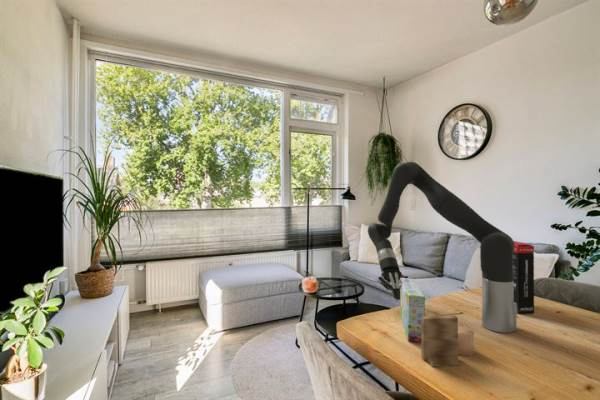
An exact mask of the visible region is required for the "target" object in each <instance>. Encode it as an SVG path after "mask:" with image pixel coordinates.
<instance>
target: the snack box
mask: <svg viewBox="0 0 600 400" xmlns="http://www.w3.org/2000/svg"><path fill="white" fill-rule="evenodd" d="M399 286H400V300H399V302H400V305H399V308H400V309H399V313H400V314H399V316H400V320H401V322H402V325H403V329H404V332H405V335H406V338H407V341H408V342H415V343H421V317H425V311H426V310H425V305H426V301H425V300H426V296H425V295H424V293H423V292H422V290H421V287H419V285H418V283H417V282H416V280H415V278H410V277H408V278H400V280H399Z"/></svg>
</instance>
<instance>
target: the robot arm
mask: <svg viewBox="0 0 600 400" xmlns="http://www.w3.org/2000/svg"><path fill="white" fill-rule="evenodd" d="M408 185H412V186H414V187H415V188H416V189H418V190H419V191H421V192H422V193H423V195H424V196H425V197H426V199H427V200H428V203H429V205H430V206H431V207H432V208H433V210H434V212H435V211H436V213H437V214H439V216H441V217H442V218H444V219H445V220H446V221H448V222H449V223H450V224H452V225H454V226H456V227H458V228H460V229H461V230H463V231H465V232H466V233H468V234H470V235H471V236H472V237H473V238H475V239H476V240H477V241H478V242H479V243H480V248H479V251H480V253H479V254H480V270H481V286H482V287H481V293H482V294H481V301H482V303H481V313H482V314H481V315H482V316H481V322H482V323H481V324H482V326H483V327H484V328H485V329H487V330H489V331H493V332H496V333H501V334H510V333H513V332H514V331H517V315H518V313H517V304H516V302H514V274H513V269H512V253H513V251H514V249H515V244H514V241H515V240H514V239H513V238H512V237H511V236H510V235H509V234H507V233H506V232H504V231H502V230H501V229H499V228H497V227H496V226H494V225H493V224H492V223H489V222H488V221H487V220H485V219H484V218H483V217H482V216H481V215H480V214H478V213H477V212H476V211H475V210H474V209H473V208H471V207H470V206H469V205H468V204H467V203H466V202H464V200H462V199H461V198H459V197H458V196H457V195H456V194H455V193H453V192H451V191H450V190H449V189H448V188H446V187H445V186H444V185H442V184H441V183H440V182H439V181H437V180H436V179H434V178H433V177H432V176H431V175H430V174H429V173H428V172H427V171H426V170H425V169H424V168H423V167H422V166H421V165H420V164H418V163H416V162H414V161H407V162H403V163H399V164H397V165H396V166H395V167H394V169H393V172H392V175H391V178H390V182H389V187H388V190H387V193H386V197H385V198H384V202H383V204H382V206H381V208H380V211H379V213H378V215H377V219H378V221H379V222H380V223H375V222H373V223H371V224H369V225H368V228H367V234H368V236H369V239H370V240H371V242H372V243H373V245H374V247H375V250H376V253H377V259H378V265H379V268H380V272H381V274H380V276H378V278H377V283H379V284H380V285H381V286H383V287H384V288H385V290H387V291H391V292H392V296H393V299H395V301H400V278H409V276H408V275H404V274H402V272H401V270H400V267H399V263H398V259H397V256H396V254H395V251H394V248H393V246H392V245H393V244H392V242H391V240H389V238H390V236H391V235H392V229H393V223H394V220H395V218H396V216H397V214H398V212H399V209H400V202H401V196H402V195H403V192H404V191H405V189H406V188H407V186H408Z"/></svg>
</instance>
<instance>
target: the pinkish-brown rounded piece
mask: <svg viewBox="0 0 600 400" xmlns="http://www.w3.org/2000/svg"><path fill="white" fill-rule="evenodd" d="M474 353H475V333H474V331H473V330H472V329H470V328H468V327H464V326H458V356H459V355H460V356H465V357H470V356H473V355H474Z"/></svg>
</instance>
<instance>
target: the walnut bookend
mask: <svg viewBox="0 0 600 400" xmlns="http://www.w3.org/2000/svg"><path fill="white" fill-rule="evenodd" d="M458 327H459V317H457V316H456V315H433V316H424V317H421V342H420V345H421V346H420V347H421V349H420V350H421V352H420V353H421V359H422V360H423V362H424V361H427V362H428V364H430V366H431V367H455V366H461V365H462V363H461V361H460V360H459V354H458Z"/></svg>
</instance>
